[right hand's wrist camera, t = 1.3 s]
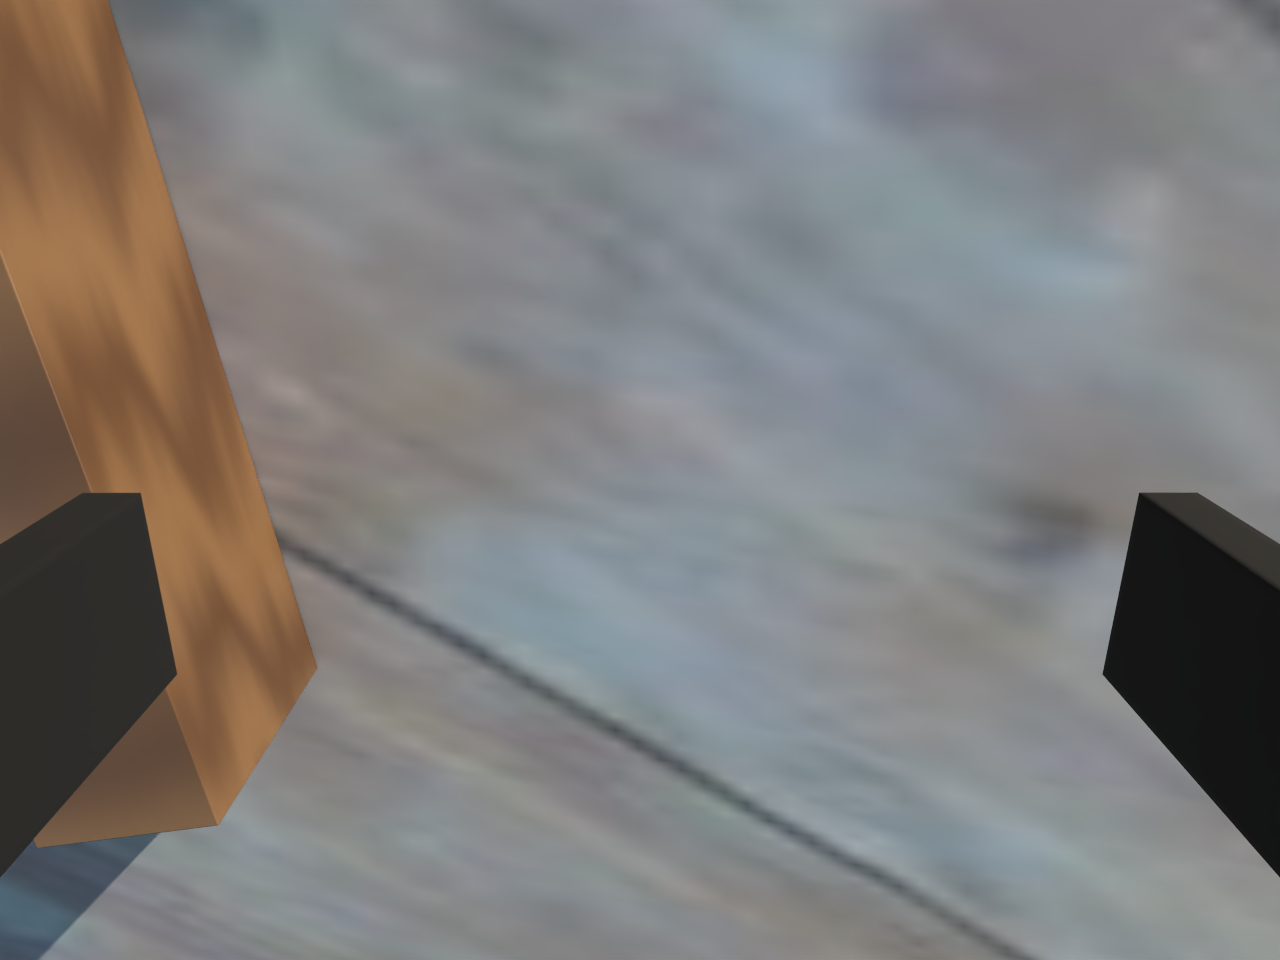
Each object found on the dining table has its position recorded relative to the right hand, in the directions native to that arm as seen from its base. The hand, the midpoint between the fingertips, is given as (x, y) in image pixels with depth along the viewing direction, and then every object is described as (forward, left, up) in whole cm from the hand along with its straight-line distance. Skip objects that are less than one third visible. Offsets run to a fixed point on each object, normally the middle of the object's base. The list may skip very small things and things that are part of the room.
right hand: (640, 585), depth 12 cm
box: (-4, +17, -20) cm, 27 cm away
